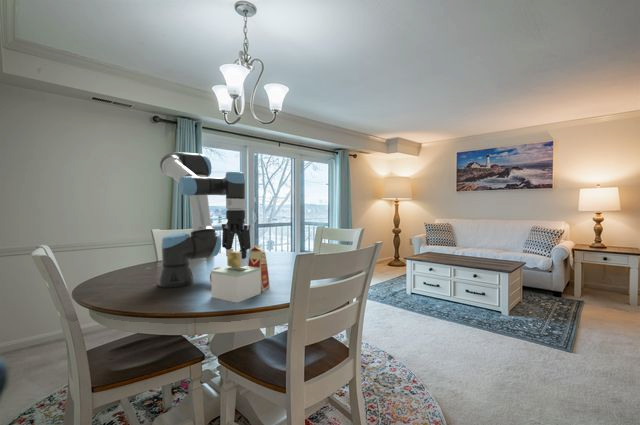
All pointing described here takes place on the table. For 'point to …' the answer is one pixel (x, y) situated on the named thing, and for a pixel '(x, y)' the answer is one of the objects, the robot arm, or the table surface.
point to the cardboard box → (233, 259)
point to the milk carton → (260, 265)
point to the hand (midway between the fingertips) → (236, 265)
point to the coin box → (236, 283)
